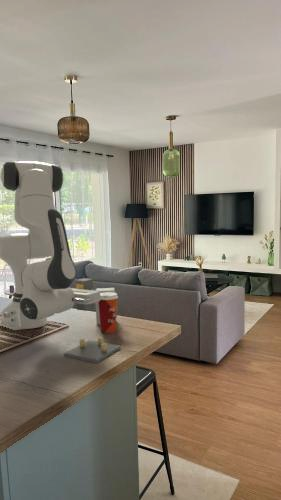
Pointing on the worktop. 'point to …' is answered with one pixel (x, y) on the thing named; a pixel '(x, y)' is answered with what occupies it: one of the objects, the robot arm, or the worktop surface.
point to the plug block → (85, 285)
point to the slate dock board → (92, 350)
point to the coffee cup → (108, 311)
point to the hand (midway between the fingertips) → (86, 291)
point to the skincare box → (98, 302)
